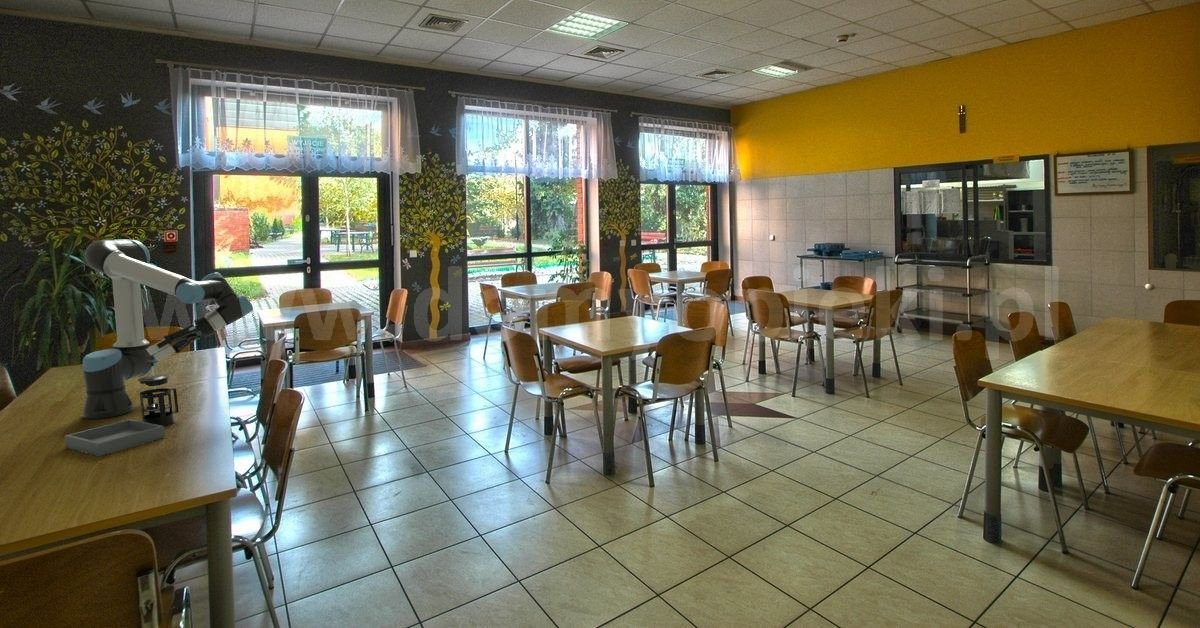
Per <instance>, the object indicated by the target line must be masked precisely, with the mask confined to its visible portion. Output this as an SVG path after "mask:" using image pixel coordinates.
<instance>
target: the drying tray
mask: <svg viewBox="0 0 1200 628" xmlns="http://www.w3.org/2000/svg"><path fill="white" fill-rule="evenodd" d="M164 437H165V438H166V433H165V426H161V425H156V424H151V423H147V422H143V421H141V420H137V419H131V418H130V419H129V418H128V419H126V420H125V419H124V420H121V421H117V422H114V423H110V424H106V425H102V426H97V427H94V428H90V429H85V430H83V431H78V432H73V433H70V434H65V435H64V443H65V449H69V450H72V449H74V450H73V451H76V450H79V451H78V452H80V451H83V452H82V453H84V452H87V453H86V454H88V453H90V454H89V455H91V454H94V455H93V456H95V455H97V456H96V457H99V456H100V457H103V456H102V455H104V456H106V455H105V454H107V455H110V454H109V453H111V454H114V453H117V452H116V451H118V452H121V451H124V450H123V449H125V450H127V448H128V449H131V448H130V447H132V448H135V447H137V445H138V446H141V445H140V444H142V445H144V444H143V443H145V444H148V443H147V442H149V443H151V442H150V441H152V442H155V441H154V440H156V441H159V440H162V439H161V438H163V439H165V438H164ZM158 439H159V440H158ZM134 446H135V447H134ZM120 450H121V451H120ZM113 452H114V453H113Z"/></svg>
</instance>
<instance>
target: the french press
mask: <svg viewBox="0 0 1200 628" xmlns="http://www.w3.org/2000/svg"><path fill="white" fill-rule="evenodd" d="M155 362H157V363H159V362H160V361H158V360H150V361H146V362H144V363H150V365H151V366H152V371H151V372H152V375H148V376H142V377H139V378H138V379H137V382H139V383H140V384H141V385H144V384H145V385H146V386H148V387H153V388H152V389H145V390H143V391H140V392H139V401H140V409H141V420H142V422H147V423H151V424H156V425H161V426H164V427H167V426H171V425H172V424H174V423H175V420H174V414H177V413H179V403H178V397H177V396H178V393H177V388H174V387H171V388H169V387H168V388H167V387H165V388H164V387H163V388H156V386H162V385H166V384H168V383H169V379H168V378H169V377H170V376H169V375H167V374H158V375H157V374H155V373H154V369H153V366H154V363H155ZM171 391H173V392H172V393H173V401H174V409H175V410H174V411H173V406H172V396H171V395H172V393H171ZM165 396H167V398H168V403H166V402H165ZM144 399H147V405H145V406H144ZM157 399H158V401H157ZM167 409H168V410H169V411H166V410H167ZM146 412H148V414H146ZM170 424H171V425H170Z"/></svg>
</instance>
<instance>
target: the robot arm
mask: <svg viewBox="0 0 1200 628" xmlns="http://www.w3.org/2000/svg"><path fill="white" fill-rule="evenodd" d="M84 251H85V252H84V259H85V262H86V264H87V266H88V267H90V269H93V270H95V271H96V272H100V273H101V274H104V275H106V276H107V277H109V278H110V279H111V281H112V293H113V303H114V304H113V305H114V313H115V314H114V317H115V326H116V327H115V328H116V342H114V343H113V344H112V348H106V349H102V350H97V351H93V352H90V353H87V354H86V355H84V357H83V358H82V366H81V367H82V371H83V377H84V385H85V392H86V393H85V394H86V397H85V401H84V405H83V408H82V418H84V419H89V420H91V419H92V420H97V419H107V418H113V417H118V416H121V415H126V414H129V413H131V412H133V411H134V408H135V407H134V403H133V400H131V397H130V396H129V394H128V392H127V389H126V382H125V381H128V380H132V379H134V378H141V377H144V376H145V375H146V374H149V373H151V372H152V366H151V365H150V363H144V362H146V361H150V360H158V361H159V362H160V361H162V360H164V359H165V358H167V357H169V356H171V355H173V354H175V353H176V354H179V353H181V351H182V350H184V349H185V348H186V347H188V346H190V345H191V344H192V343H194V342H195V341H196V340H198V339H200V338H202V335H203V336H204V337H206V338H208V337H210V336H211V335H214V334H215V332H216V331H220V330H222V329H223V330H225V329H226V327H227V326H229V325H231V324H233V323H234V322H236V321H238V320H240V319H242V318H244V317H245V316H247V315H248V314H250V313H251V312H253V311H254V307H253V305H252V302H251V301H250V300H249V299H248V297H247V296H245V295H244V294H240V295H238V294H237V293H236V292H235V291H234V289H233V287H232V286H231V285H230V284H229V282H228V281H227V280H226V279H225V278H224V276H223V275H222V274H221V273H220V272H212V273H208V274H207V275H205V276H204V277H202V279H201V280H200V281H199V280H193V279H191V278H188V277H185V276H183V275H181V274H178V273H175V272H171V271H169V270H166V269H164V268H161V267H157V266H156V265H153V264H150V261H151V255H150V251H149V249H148V247H147V246H146V245H144V244H143V243H142V242H140V241H139V240H136V239H127V238H123V239H122V238H120V239H119V238H118V239H100V240H96V241H93V242H91V243H90V244H88V246H87V247H86V249H85V250H84ZM141 285H143V286H147V287H149V288H153V289H154V290H158V291H161V292H163V293H165V294H169V295H172V296H174V297H176V298H177V299H178V300H179V301H180V302H181V303H183V304H198V303H201V302H207V301H212V300H213V301H214V302H215V304H216V305H217V306H218V307H216V308H215V309H213V310H210V311H208V312H207V313H205V315H204V316H203V315H202V316H200V317H198V318H196V319H194V321H193V323H194V324H191V325H189V326H187V327H185V328H183V329H180V330H177V331H175V332H172V333H170V334H168V335H167V334H166V335H164V336H163V338H164V339H162V340H159V341H158V342H157V343H154V344H153V345H151V344H150V341H149V340H148V339H146V338H145V329H144V316H143V303H142V290H141ZM157 365H158V362H155V363H154V366H153V370H154V369H155V368H156V366H157Z"/></svg>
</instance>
